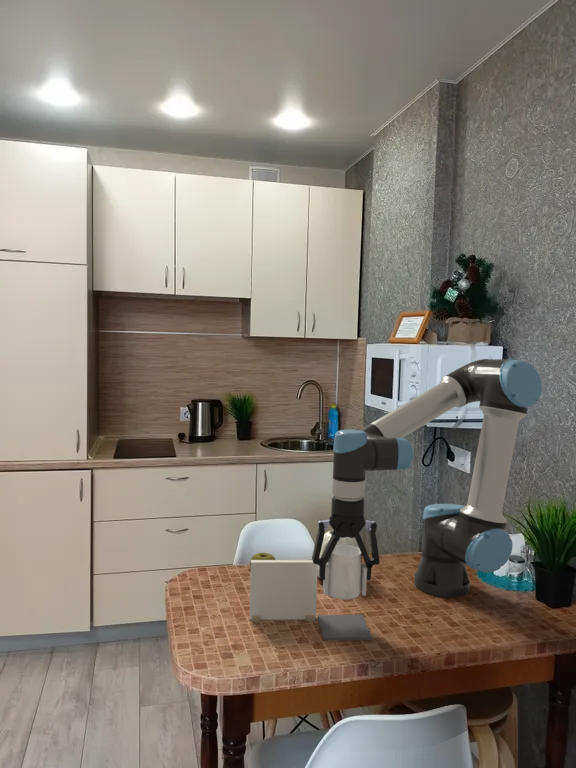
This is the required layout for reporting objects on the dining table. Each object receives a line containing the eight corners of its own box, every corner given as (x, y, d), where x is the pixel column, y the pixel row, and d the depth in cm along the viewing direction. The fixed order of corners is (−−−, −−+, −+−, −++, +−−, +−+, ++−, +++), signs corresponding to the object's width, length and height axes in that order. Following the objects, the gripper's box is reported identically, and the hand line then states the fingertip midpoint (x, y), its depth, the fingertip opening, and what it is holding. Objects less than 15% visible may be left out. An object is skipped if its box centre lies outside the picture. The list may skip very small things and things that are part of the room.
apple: (260, 572, 166) (261, 548, 166) (282, 579, 162) (283, 554, 161) (243, 580, 160) (244, 555, 160) (266, 587, 155) (266, 562, 155)
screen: (314, 613, 140) (316, 558, 140) (316, 621, 136) (318, 564, 136) (249, 614, 139) (250, 558, 138) (249, 622, 135) (251, 564, 134)
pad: (362, 617, 139) (362, 614, 139) (371, 639, 128) (372, 637, 128) (317, 617, 138) (317, 615, 138) (323, 640, 127) (323, 637, 127)
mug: (368, 607, 127) (370, 562, 127) (332, 608, 126) (334, 562, 126) (355, 585, 139) (357, 544, 139) (322, 586, 138) (323, 544, 138)
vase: (302, 579, 162) (304, 533, 161) (327, 565, 173) (329, 522, 172) (345, 592, 154) (347, 543, 153) (368, 576, 165) (370, 531, 165)
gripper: (388, 493, 136) (384, 586, 137) (301, 492, 135) (298, 586, 136) (396, 501, 129) (392, 600, 130) (304, 500, 127) (301, 599, 128)
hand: (344, 592), depth 133 cm, fingers closed on mug, 8 cm apart
